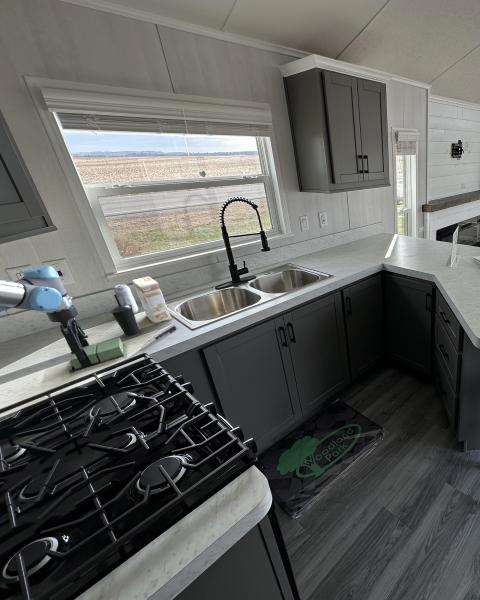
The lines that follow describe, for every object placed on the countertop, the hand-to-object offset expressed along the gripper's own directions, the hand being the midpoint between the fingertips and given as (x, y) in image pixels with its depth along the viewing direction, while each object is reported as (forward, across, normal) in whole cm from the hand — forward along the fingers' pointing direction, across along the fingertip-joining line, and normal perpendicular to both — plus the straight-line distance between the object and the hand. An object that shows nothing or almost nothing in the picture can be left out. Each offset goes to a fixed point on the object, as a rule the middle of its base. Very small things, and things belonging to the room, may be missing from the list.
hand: (88, 359), depth 127 cm
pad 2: (0, 0, -7) cm, 7 cm away
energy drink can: (+2, +44, -14) cm, 46 cm away
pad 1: (0, 0, 0) cm, 0 cm away
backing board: (+2, 0, -3) cm, 4 cm away
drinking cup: (+2, +15, -14) cm, 21 cm away
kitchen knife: (+2, +2, -23) cm, 23 cm away
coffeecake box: (+2, +27, -25) cm, 37 cm away
